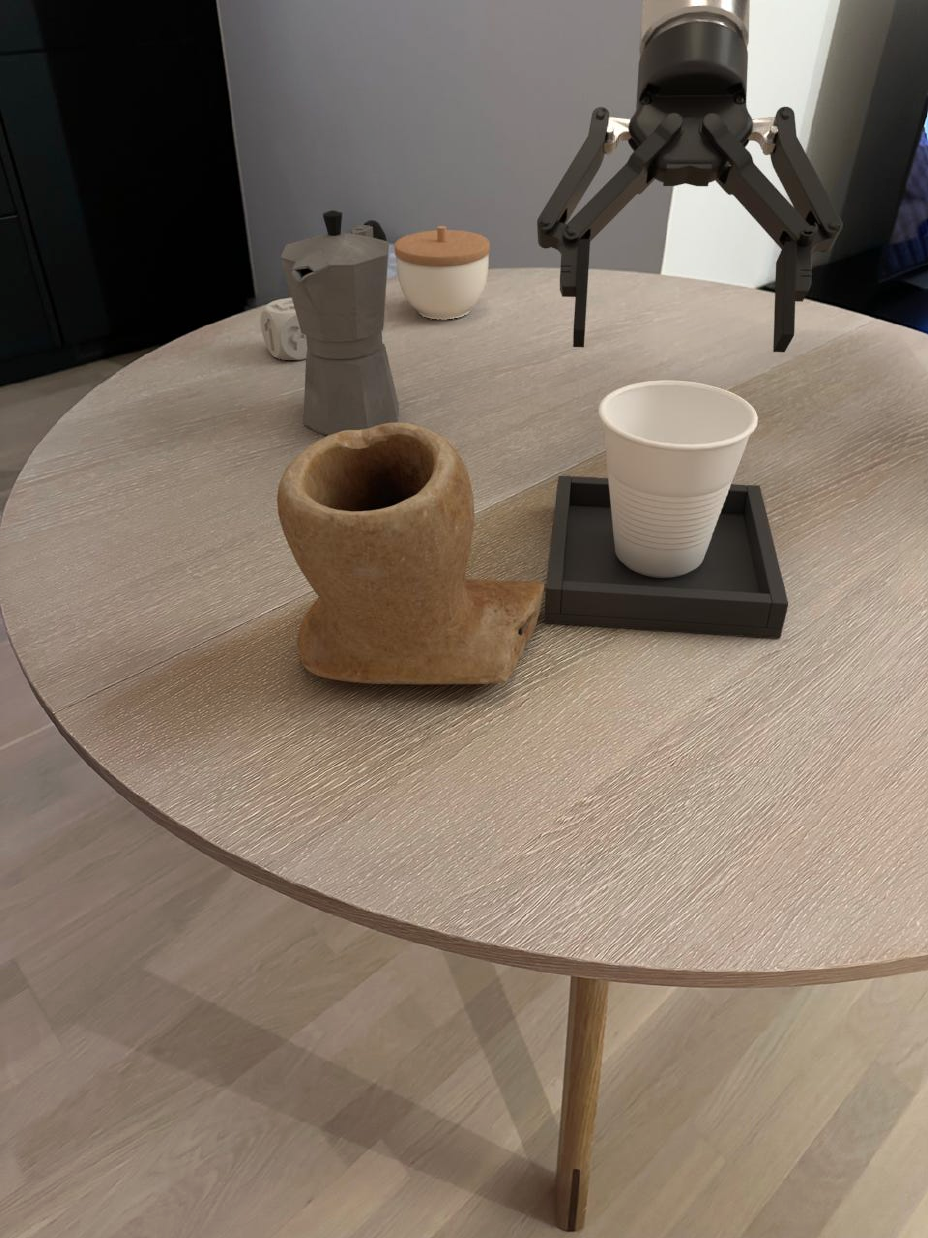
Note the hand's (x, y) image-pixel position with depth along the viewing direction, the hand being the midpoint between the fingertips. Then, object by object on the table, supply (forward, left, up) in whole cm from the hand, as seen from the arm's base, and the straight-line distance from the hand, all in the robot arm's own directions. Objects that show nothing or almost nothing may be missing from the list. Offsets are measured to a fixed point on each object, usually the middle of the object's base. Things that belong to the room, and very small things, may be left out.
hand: (679, 341), depth 63 cm
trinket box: (+23, -44, -14) cm, 52 cm away
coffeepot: (+27, -16, -14) cm, 35 cm away
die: (+37, -30, -14) cm, 50 cm away
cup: (0, +7, -13) cm, 15 cm away
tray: (0, +7, -14) cm, 15 cm away
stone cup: (+15, +19, -14) cm, 28 cm away
